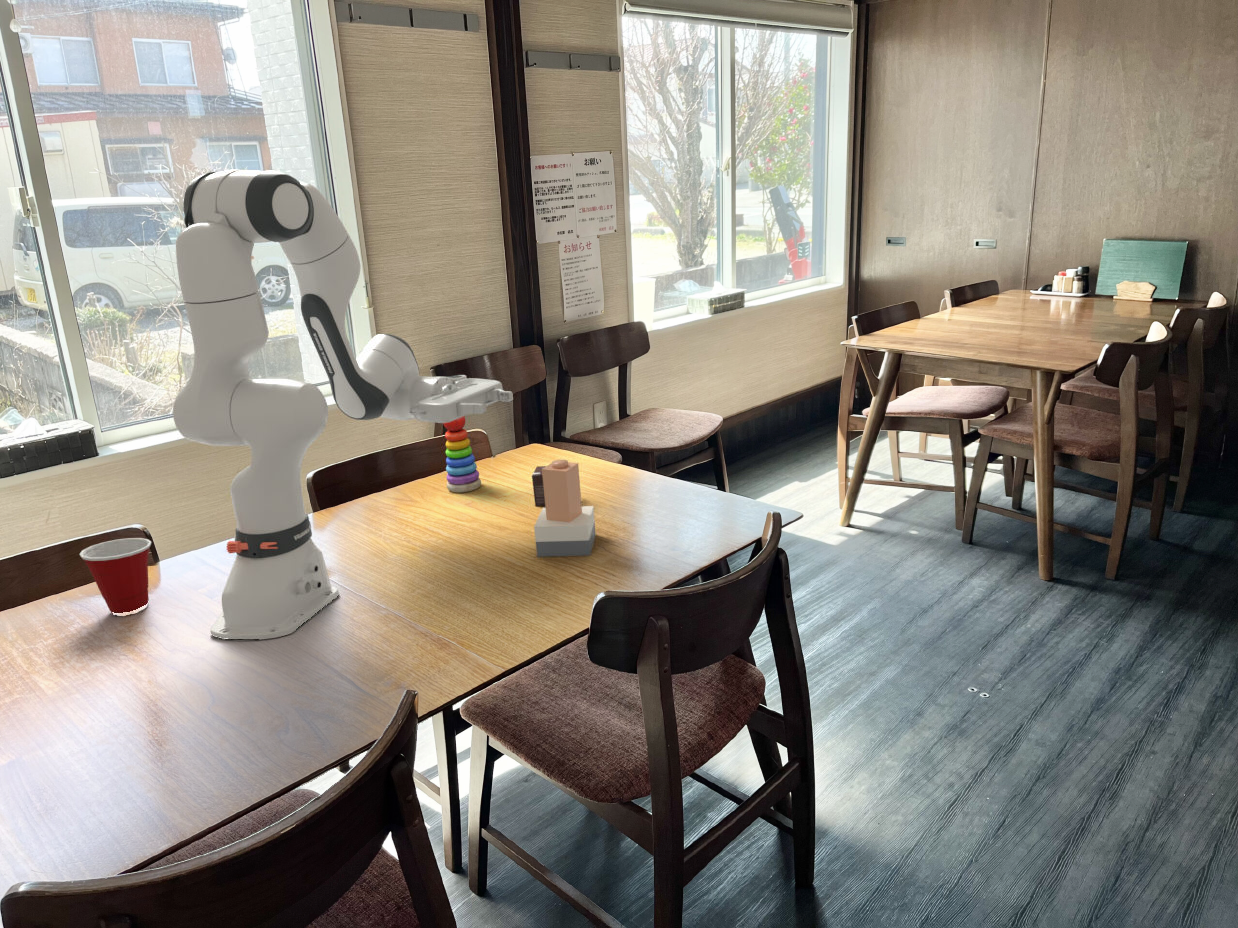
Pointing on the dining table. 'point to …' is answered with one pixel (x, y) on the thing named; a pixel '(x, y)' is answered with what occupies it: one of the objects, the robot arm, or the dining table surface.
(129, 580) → the plastic cup
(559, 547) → the tower base
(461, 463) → the stacking toy
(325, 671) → the dining table surface
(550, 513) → the tall brick
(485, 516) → the dining table surface
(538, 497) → the box
